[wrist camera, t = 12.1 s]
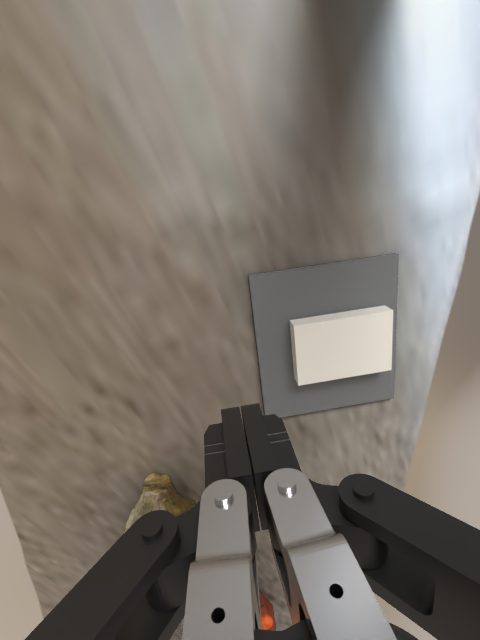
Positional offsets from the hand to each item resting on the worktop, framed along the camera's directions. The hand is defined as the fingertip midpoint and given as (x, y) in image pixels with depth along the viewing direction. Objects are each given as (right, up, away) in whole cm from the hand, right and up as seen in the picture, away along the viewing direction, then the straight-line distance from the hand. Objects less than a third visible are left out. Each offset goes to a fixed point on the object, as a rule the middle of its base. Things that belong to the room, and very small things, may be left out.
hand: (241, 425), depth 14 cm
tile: (+7, 0, +30) cm, 30 cm away
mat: (+11, +1, +32) cm, 34 cm away
